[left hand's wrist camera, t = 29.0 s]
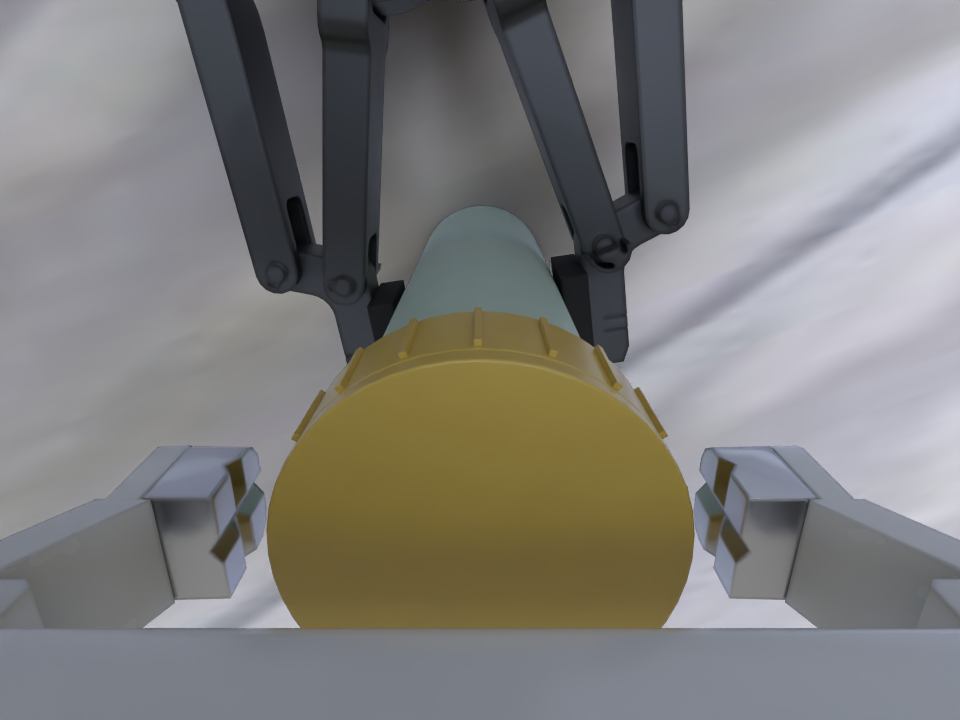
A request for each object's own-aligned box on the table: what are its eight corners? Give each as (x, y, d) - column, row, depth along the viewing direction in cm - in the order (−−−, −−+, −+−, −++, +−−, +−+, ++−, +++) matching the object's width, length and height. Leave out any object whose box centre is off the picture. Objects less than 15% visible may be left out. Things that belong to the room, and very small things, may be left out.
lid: (728, 391, 9) (789, 457, 8) (563, 652, 11) (579, 756, 10) (372, 243, 9) (342, 277, 7) (262, 553, 11) (213, 645, 9)
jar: (492, 342, 26) (508, 678, 10) (400, 276, 25) (259, 537, 9) (564, 254, 25) (710, 484, 9) (469, 180, 24) (444, 292, 8)
